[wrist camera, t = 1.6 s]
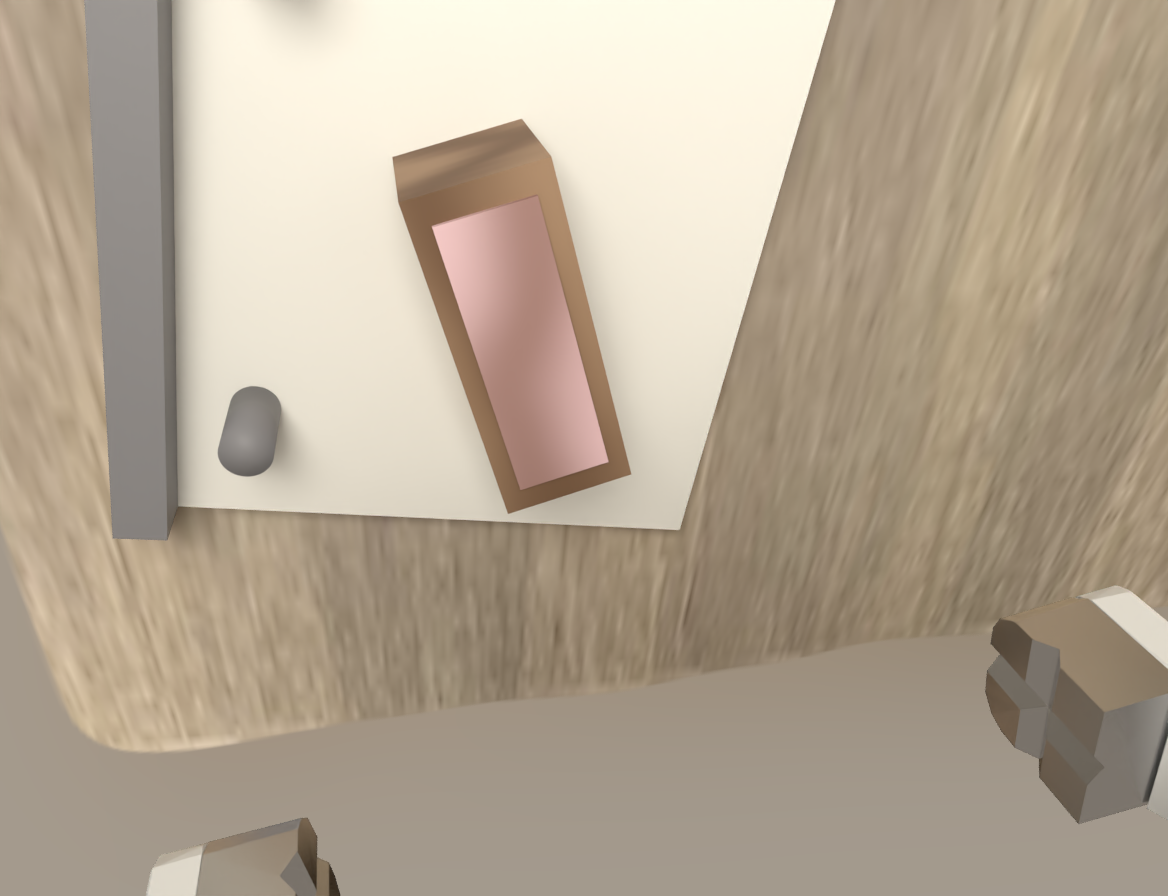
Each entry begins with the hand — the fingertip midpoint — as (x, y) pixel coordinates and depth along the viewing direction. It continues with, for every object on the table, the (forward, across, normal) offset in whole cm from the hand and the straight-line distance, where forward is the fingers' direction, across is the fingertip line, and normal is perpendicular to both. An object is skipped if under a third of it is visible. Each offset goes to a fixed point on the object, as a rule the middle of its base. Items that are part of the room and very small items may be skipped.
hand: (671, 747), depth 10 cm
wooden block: (+21, -1, +2) cm, 21 cm away
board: (+22, -1, -2) cm, 23 cm away
